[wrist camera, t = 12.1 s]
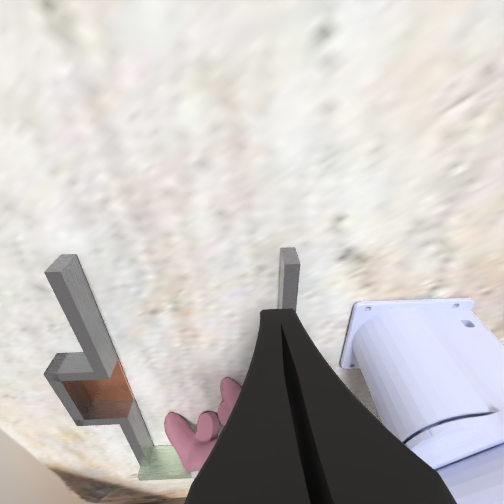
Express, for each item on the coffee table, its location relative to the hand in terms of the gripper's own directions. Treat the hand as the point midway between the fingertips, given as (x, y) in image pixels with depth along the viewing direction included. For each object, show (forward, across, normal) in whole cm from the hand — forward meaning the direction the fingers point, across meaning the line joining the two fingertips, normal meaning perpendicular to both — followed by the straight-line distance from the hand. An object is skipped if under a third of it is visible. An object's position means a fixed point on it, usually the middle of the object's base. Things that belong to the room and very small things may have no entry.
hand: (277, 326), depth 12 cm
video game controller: (+9, +5, +20) cm, 23 cm away
